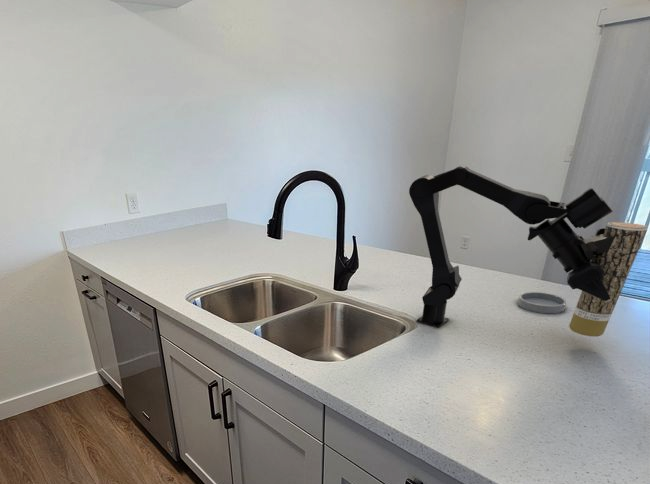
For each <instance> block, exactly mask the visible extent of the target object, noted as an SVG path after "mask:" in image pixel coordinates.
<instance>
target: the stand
mask: <svg viewBox="0 0 650 484" xmlns="http://www.w3.org/2000/svg"><path fill="white" fill-rule="evenodd" d="M517 305H518V306H519V307H520V308H522V309H524V310H527V311H529V312H534V313H538V314H539V313H540V314H559V313H562V312H564V311H565V309H566V305H567V300H566V299H565V298H564V297H562V296H560V295H557V294H554V293H553V294H552V293H548V292H542V291H541V292H540V291H528V292H523V293H520V295H519V296H518V300H517Z"/></svg>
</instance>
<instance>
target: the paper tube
mask: <svg viewBox="0 0 650 484" xmlns="http://www.w3.org/2000/svg"><path fill="white" fill-rule="evenodd" d="M605 228H606V229H605V232H604V234H603V236H604V237H611V236H615V238H614V241H613V243H612V245H611V247H610V249H609V251H607V252H603V253H599V254H596V255H595V256H596V258H594V262H598V263H599V264H600V265H601V267H602V268H603V269H604V275H603V276H602V279H601V280H602V282H603V284H604V286H605V288H606V290H607V292H608V294H609V296H610V299H609V300H607V301H604V300H602V299H600V298H597V297H595V296H593V295H591V294H589V293H586V292H584V291H582V290H581V293H580V295H579V298H578V301H577V303H576V306H575V309H574V311H573V314H572V316H571V319H570V322H569V325H568V327H569V329H570V331H572V332H573V333H576V334H578V335H581V336H586V337H600V336H602V335H604V333H605V331H606V328H607V327H608V324H609V322H610V319H611V318H612V315H613V313H614V309H615V308H616V305H617V303H618V300H619V298H620V296H621V293H622V291H623V289H624V286H625V283H626V282H627V279H628V277H629V274H630V272H631V270H632V267H633V264H634V262H635V260H636V257H637V255H638V252H639V250H640V248H641V246H642V244H643V241H644V239H645V237H646V234H647V232H648V228H649V227H648V225H643V224H638V223H632V222H621V221H611V222H607V224H606V227H605Z"/></svg>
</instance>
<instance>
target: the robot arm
mask: <svg viewBox="0 0 650 484" xmlns="http://www.w3.org/2000/svg"><path fill="white" fill-rule="evenodd" d="M455 186H459V187H462V188H464V189H467V190H468V191H470V192H472V193H475V194H478V195H480V196H481V197H484V198H485V199H488V200H491V202H495V203H497V204H499V205H501V206H503V207H504V208H506V209H507V210H508V211H509V212H510V213H512V214H513V215H514V216H515V217H517V218H518V219H519V220H521V221H522V222H524V223H525V224H527V225H531V226H529V227H528V234H527V241H532V240H533V239H535V238H536V237H538V238H539V239H540V240H541V242H542V243H544V245H545V246H546V248H547V249H548V250H549V251H550V252H551V253H552V254H551V255H552V257H553V258H554V260H557V261H558V262H559V263H560V264H561V266H562V267H563V270H564V272H565V273H566V274H567V278H566V283H567V285H568V286H569V287H570V289H572V290H576V289H577V290H580V291H581V292H582V291H584V292H586V293H589V294H591V295H593V296H595V297H597V298H600V299H602V300H604V301H607V300H609V299H610V296H609V294H608V292H607V290H606V288H605V286H604V284H603V282H602V280H601V279H602V276H603V275H604V269H603V268H602V267H601V265H600V264H599V263H598V262H594V258H596V256H595V255H596V254H599V253H603V252H607V251H609V249H610V247H611V245H612V243H613V241H614V238H615V236H611V237H604V236H603V234H604V232H605V229H606V227H605V226H603V227H600V228H597V229H596V232H595V234H594V235H592V236H591V237H587V238H584V237H583V236H582V235H580V234H577V233H576V231H574V229H581V228H583V229H586V228H588V227H590V226H591V225H593V224H595V223H597V222H598V221H600V220H601V219H603V218H605V217H607V216H609V215H610V214H611V213H613V212H614V211H613V210H614V209H612V208H611V206H610V205H609V204H608V202H607V201H606V200H605V199H604V198H603V197H602V196H600V195H599V194H598V193H597V191H595V189H594V188H593V187H589V188H588V189H586V190H585V191H584V192H583V193H581V194H580V195H579V196H577V197H576V198H574V199H572V200H571V201H569V202H568V203H566V202H561V201H554V200H550V199H549V197H547V196H546V195H543V194H541V193H536V192H531V191H528V190H527V191H526V190H523V189H522V190H521V189H517V188H513V187H512V186H508V185H506V184H504V183H502V182H500V181H497V180H495V179H492V178H490V177H488V176H486V175H484V174H482V173H480V172H477V171H475V170H473V169H471V168H469V167H468V166H466V165H459V166H456V167H454V168H453V169H450V170H447V171H445V172H442V173H439V174H437V175H434V176H433V175H430V174H425V175H423V176H420V177H419V178H416V179H415V180H414V181H413V182H411V184H410V186H409V188H408V194H409V196H410V199H411V202H412V204H413V206H414V208H415V209H416V211H417V212H418V214H419V215H420V218H421V222H422V227H423V232H424V235H425V240H426V244H427V248H428V253H429V258H430V262H431V266H432V274H431V286H429V287H428V288H427V290H425V293H424V294H423V295H422V298H421V299H422V303H423V309H422V315H421V316H420V317H418V318H417V319H416V322H418V323H421V324H425V325H428V326H432V327H434V328H435V327H436V328H439V327H442V326H443V325H444V324H446V323H447V322H449V321H450V318H448V317H445V316H446V311H447V304H448V301H447V300H450V299H452V298H454V296H455V295H456V293H457V291H458V289H459V288H460V284H461V281H462V280H463V278H462V277H461V275H460V267H459V266H460V265H456V266H453V265H452V263H451V261H450V258H449V253H448V249H447V245H446V241H445V236H444V235H445V234H444V231H443V227H442V221H441V217H440V212H439V202H440V201H439V200H440V199H439V198H440V192H442V191H445V190H447V189H450V188H452V187H455ZM566 218H567V220H568V221H569V223H570V224H571V225H572V226H573V227H574V229H573V228H572V227H571V225H569V223H568V222H567V221H566V220H565V219H566ZM532 225H533V226H532ZM534 225H537V226H534Z"/></svg>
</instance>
